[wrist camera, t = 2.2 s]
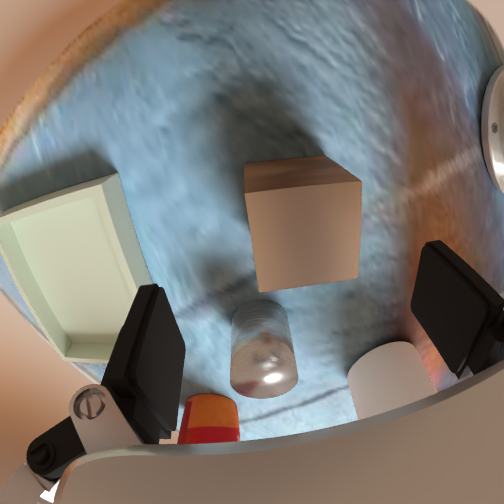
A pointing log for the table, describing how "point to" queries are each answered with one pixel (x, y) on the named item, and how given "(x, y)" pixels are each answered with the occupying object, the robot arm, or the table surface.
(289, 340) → the metal cylinder
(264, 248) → the walnut block
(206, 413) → the coffee cup
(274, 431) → the table surface
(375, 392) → the beverage can
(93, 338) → the parts tray
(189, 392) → the table surface
